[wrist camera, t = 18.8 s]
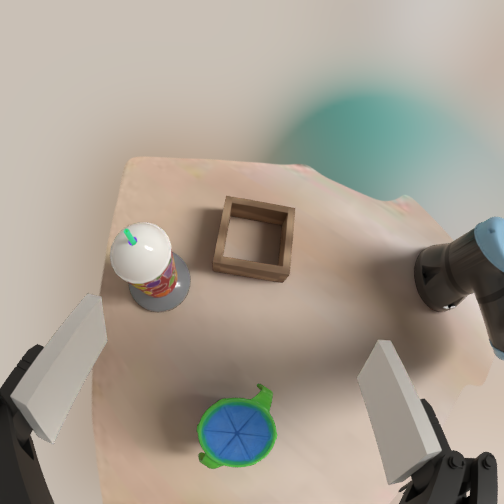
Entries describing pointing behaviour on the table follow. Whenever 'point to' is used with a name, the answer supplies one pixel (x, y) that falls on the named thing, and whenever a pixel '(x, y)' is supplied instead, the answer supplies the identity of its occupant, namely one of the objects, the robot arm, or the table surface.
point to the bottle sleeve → (259, 213)
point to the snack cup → (237, 431)
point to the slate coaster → (173, 297)
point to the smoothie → (145, 259)
